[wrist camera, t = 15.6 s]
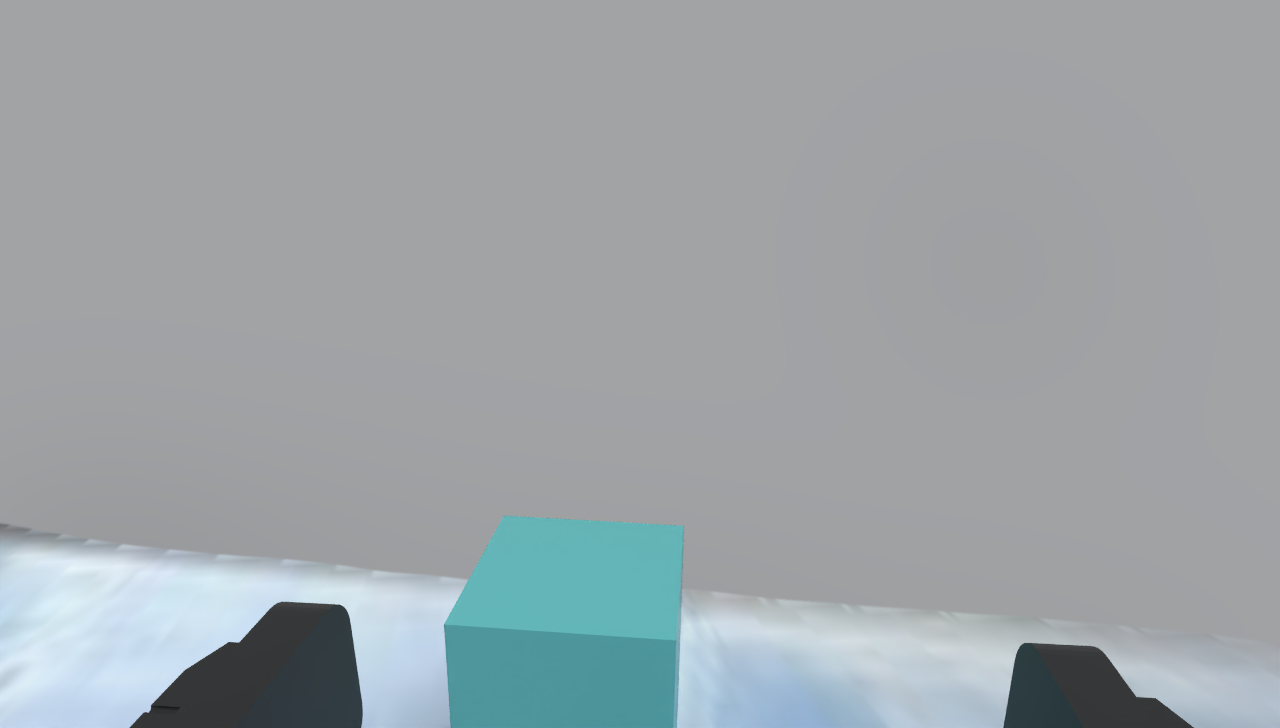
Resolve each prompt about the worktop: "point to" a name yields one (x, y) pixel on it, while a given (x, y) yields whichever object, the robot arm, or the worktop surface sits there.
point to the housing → (569, 627)
